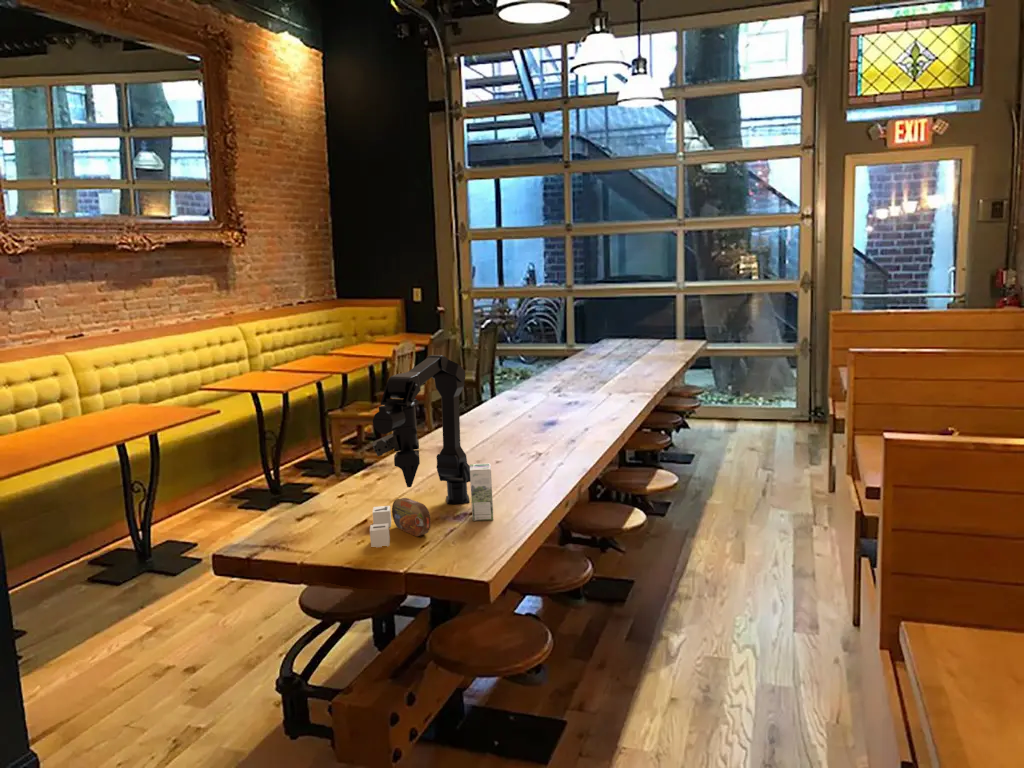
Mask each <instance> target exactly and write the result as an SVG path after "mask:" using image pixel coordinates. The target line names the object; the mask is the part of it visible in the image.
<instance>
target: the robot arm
mask: <svg viewBox="0 0 1024 768" xmlns="http://www.w3.org/2000/svg"><path fill="white" fill-rule="evenodd" d="M431 378H432V379H433V380H434V386H435V389H436V390H437V393H438V394H439V395H440V397H441V418H442V419H441V421H442V449H441V450H440V452H439V453H438V454H436V471H437V475H438V478H439V482H440V481H441V482H442V481H443V482H446V488H447V489H446V491H447V495H446V497H445V499H446V500H445V501H446V505H455V504H457V505H459V504H466V503H467V504H468V503H470V496H469V494H468V486H467V484H468V483H470V465H469V463H468V459H467V454H466V452H465V450H464V449H463V448H462V446H461V424H460V423H461V419H460V395H461V394H462V391H463V389H464V388H465V380H466V371H465V369H464V368H463V367H462V366H461V365H460V364H458V363H457V362H455V361H452V360H450V359H449V358H448V357H447V356H445V355H443V354H429V355H427V356H426V358H425V359H424V360H423V361H421V362H420V363H418V364H417V365H415V366H414V367H413V368H411V369H410V370H408V371H406V372H402V373H396V374H394V375H391V376H389V378H388V379H387V382H386V385H385V388H384V391H383V395H382V398H381V401H380V406H378V411H376V413H375V414H374V415H373V419H372V425H373V427H374V430H375V431H377V432H378V433H379V434H381V435H384V436H383V437H381V438H378V439H376V440H374V441H373V442H372V449H373V451H374V452H375V455H376V456H377V457H381V456H383V455H384V454H386V453H389V452H391V451H392V450H393V452H395V454H394V456H393V461H394V467H396V468H399V469H400V470H401V471H402V474H403V478H404V482H405V484H406V488H412V485H413V482H414V480H415V477H416V474H417V471H418V469H419V466H420V465H421V464H420V463H421V461H420V450H419V449H420V443H419V439H418V429H417V428H418V427H417V417H416V416H417V414H416V413H417V412H416V405H418V404H419V400H418V399H417V398H416V397H417V396H418V395H419V393H420V392H421V386H422V385H423V384H425V383H426V382H427V381H429V380H430V379H431ZM391 432H392V433H391ZM389 433H390V434H389ZM385 435H386V436H385Z"/></svg>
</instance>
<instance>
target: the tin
mask: <svg viewBox="0 0 1024 768" xmlns="http://www.w3.org/2000/svg"><path fill="white" fill-rule="evenodd" d="M391 517H392V519H393V522H394V524H395V526H396V527H397V529H399V530H400V529H401V530H400V531H402V530H403V532H405V533H408V534H409V533H410V534H409V535H412V536H414V537H420V536H423V535H426V534H428V533H429V531H430V530H431V523H432V522H431V514H430V511H429V508H428V507H427V506H426V505H425V504H424V503H422V502H419V501H416V500H413V499H411V498H408V497H402V498H397V499H395V500H394V501H393V503H392V507H391Z"/></svg>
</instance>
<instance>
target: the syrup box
mask: <svg viewBox="0 0 1024 768" xmlns="http://www.w3.org/2000/svg"><path fill="white" fill-rule="evenodd" d="M469 466H470V482H469V483H470V496H471V497H470V499H471V515H472V521H473V522H475V521H476V522H478V521H492V520H493V521H494V503H493V502H494V501H493V489H492V488H493V486H492V485H493V484H492V465H491V463H489V462H488V463H474V464H470V465H469Z"/></svg>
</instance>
